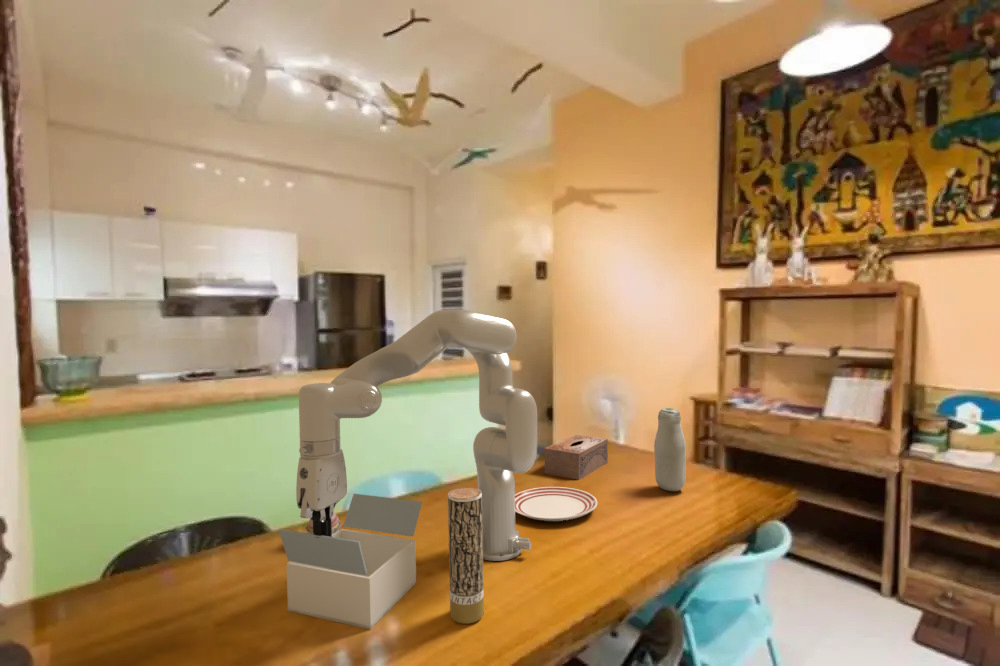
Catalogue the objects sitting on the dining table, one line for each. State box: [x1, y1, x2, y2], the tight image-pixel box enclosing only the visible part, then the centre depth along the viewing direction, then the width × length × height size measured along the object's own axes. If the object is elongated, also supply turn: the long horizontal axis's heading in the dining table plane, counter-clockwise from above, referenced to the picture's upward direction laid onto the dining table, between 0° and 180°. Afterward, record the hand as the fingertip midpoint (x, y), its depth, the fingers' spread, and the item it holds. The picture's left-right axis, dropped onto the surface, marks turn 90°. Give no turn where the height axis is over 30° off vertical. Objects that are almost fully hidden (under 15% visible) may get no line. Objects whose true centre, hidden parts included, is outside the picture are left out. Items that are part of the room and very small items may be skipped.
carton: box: [286, 528, 417, 630], centre depth 111 cm, size 20×18×10 cm
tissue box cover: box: [544, 434, 609, 481], centre depth 202 cm, size 26×14×10 cm, turn 145°
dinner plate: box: [515, 486, 598, 522], centre depth 159 cm, size 28×27×3 cm
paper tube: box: [447, 487, 485, 625], centre depth 103 cm, size 7×7×25 cm
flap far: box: [343, 493, 423, 537], centre depth 122 cm, size 19×8×1 cm
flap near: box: [278, 528, 367, 575], centre depth 101 cm, size 19×8×1 cm
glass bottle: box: [653, 407, 687, 493], centre depth 174 cm, size 10×10×28 cm
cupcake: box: [304, 512, 343, 534], centre depth 138 cm, size 9×9×10 cm
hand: (322, 538), depth 101 cm, fingers closed
